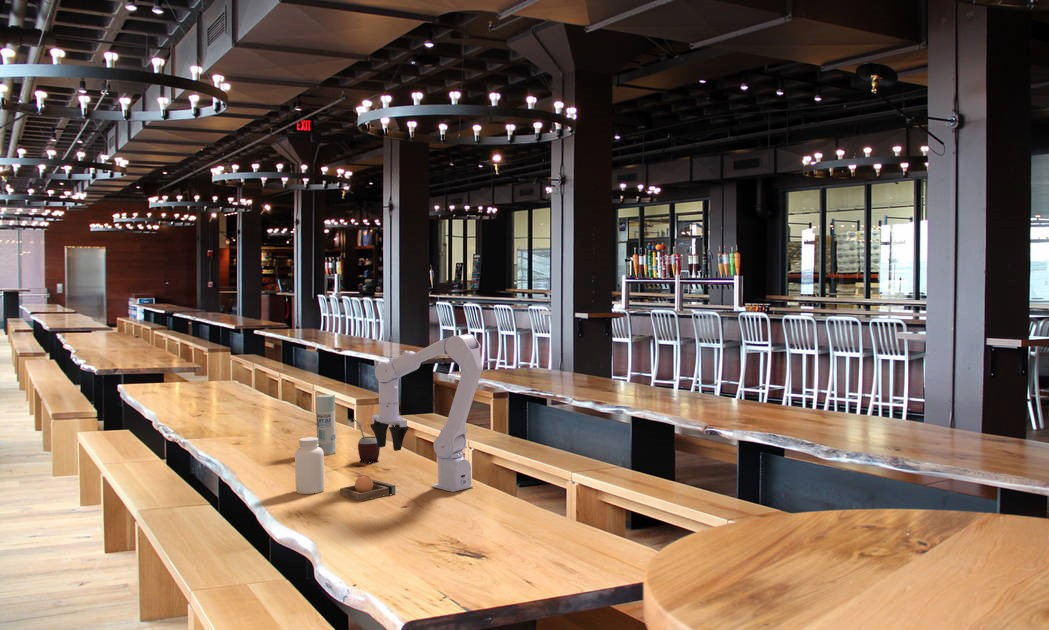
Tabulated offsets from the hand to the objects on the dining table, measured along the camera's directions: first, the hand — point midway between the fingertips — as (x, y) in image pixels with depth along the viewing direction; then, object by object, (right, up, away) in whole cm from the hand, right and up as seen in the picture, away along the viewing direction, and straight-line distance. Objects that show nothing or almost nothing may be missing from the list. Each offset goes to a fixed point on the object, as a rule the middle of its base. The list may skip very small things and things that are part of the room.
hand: (389, 448), depth 256 cm
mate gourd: (-12, -9, +29) cm, 32 cm away
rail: (-1, -10, -11) cm, 15 cm away
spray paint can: (-29, -9, +44) cm, 53 cm away
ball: (-5, -10, -15) cm, 19 cm away
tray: (-5, -11, -15) cm, 19 cm away
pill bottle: (-21, -11, -10) cm, 25 cm away
